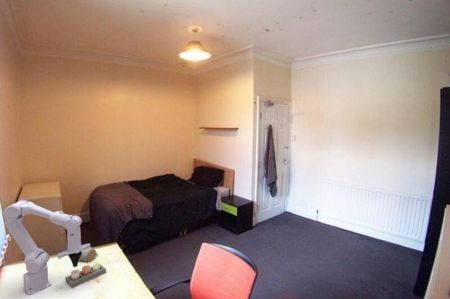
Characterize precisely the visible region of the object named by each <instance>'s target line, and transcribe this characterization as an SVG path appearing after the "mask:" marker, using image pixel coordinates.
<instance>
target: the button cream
mask: <svg viewBox="0 0 450 299" xmlns="http://www.w3.org/2000/svg"><path fill="white" fill-rule="evenodd" d="M79 272H80V270H79V269H74V270H72V271H70V275H71V280H72V281H74V280H76V279H79V278H80V274H79Z"/></svg>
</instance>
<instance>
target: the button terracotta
mask: <svg viewBox="0 0 450 299" xmlns="http://www.w3.org/2000/svg"><path fill="white" fill-rule="evenodd" d="M90 267H91V266H90V265H87V264H85V265H84V266H82V268H81V271H82V275H83V276H86V275H88V274H90Z"/></svg>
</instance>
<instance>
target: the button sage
mask: <svg viewBox="0 0 450 299" xmlns="http://www.w3.org/2000/svg"><path fill="white" fill-rule="evenodd" d="M100 265H101V264H100V263H95V264H93V265H92V266H93V272H95V271H97V270H100Z"/></svg>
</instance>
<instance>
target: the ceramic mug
mask: <svg viewBox="0 0 450 299" xmlns="http://www.w3.org/2000/svg"><path fill="white" fill-rule="evenodd" d="M81 252H82V255H81V257H80V259H79V260H80V261H85V262H86V261H87V262H91V261H93V260H94V258H95V257H96V256H97V255H98V252H97V250H96V249H95V248H94V247H90V248H89V249H88V248H87V249H84V250H81Z"/></svg>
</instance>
